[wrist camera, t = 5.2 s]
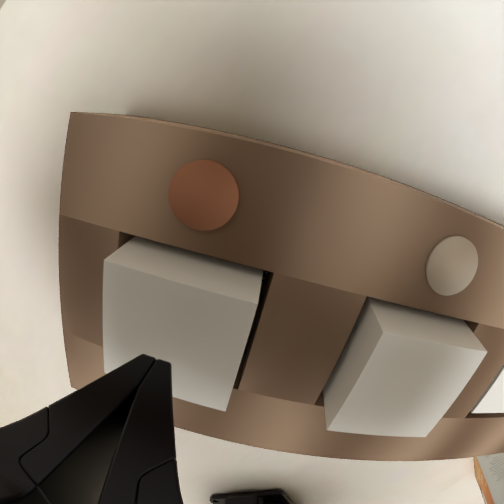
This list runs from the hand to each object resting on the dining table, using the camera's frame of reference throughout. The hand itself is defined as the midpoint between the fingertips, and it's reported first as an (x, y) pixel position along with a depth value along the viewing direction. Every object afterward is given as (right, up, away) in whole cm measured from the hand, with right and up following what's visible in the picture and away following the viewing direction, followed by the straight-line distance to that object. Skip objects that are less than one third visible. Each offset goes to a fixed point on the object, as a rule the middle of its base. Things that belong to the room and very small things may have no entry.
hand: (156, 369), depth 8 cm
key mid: (+8, -1, +4) cm, 9 cm away
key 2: (0, +1, +4) cm, 4 cm away
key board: (+8, 0, +6) cm, 10 cm away
